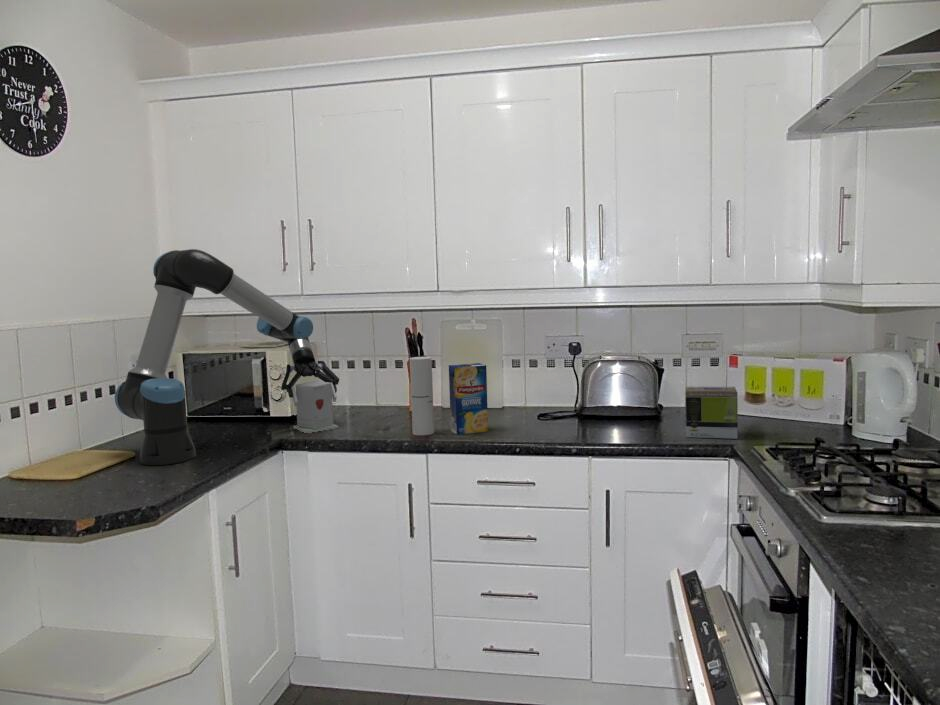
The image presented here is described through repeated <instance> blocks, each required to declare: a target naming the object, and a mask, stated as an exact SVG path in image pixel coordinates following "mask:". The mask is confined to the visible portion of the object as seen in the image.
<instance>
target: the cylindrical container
mask: <svg viewBox="0 0 940 705" xmlns="http://www.w3.org/2000/svg"><path fill="white" fill-rule="evenodd" d="M432 360H433V359H432V357H431V356H414V357H410V358H409V373H410V375H409V377H410V378H409V379H410V395H411V396H410V402H411V425H412V435H415V436H430V435H433V434H435V417H434V416H435V414H434V390H433V365H432V364H433V362H432Z"/></svg>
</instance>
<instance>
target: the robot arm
mask: <svg viewBox="0 0 940 705" xmlns="http://www.w3.org/2000/svg"><path fill="white" fill-rule="evenodd" d="M152 273H153V276H154V278H155V283H154V286H153V288H154V289H155V291H156V293H157V294H156V298H155V301H154V303H153V304H154V305H153V308H152V311H151V314H150V317H149V321H148V325H147V328H146V332H145V335H144V338H143V341H142V344H141V348H140V351H139V354H138V358H137V360H136V361H137V362H136V365H135V367H134V368H132V369H130V370H128V372H127V375H126V378H125V381H123V382H122V383H121V384H120V385H118V387H117V389H116V390H115V393H114V404H115V405H116V408H117V409H118V411H119V412H120V413H121V414H123V415H125V416H126V417H128V418H130V419H135V420H140V421H142V422H143V435H144V436H143V441H142V444H141V448H140V451H139V463H140V464H142V465H145V466H146V465H147V466H163V465H166V466H167V465H172V464H177V463H179V464H180V463H183V462H186V461H189V460H192V459H194V458H195V457H196V456H197V454H196V446H195V444H194V442H193V440H192V437H191V435H190V433H189V430H188V417H187V416H188V415H187V404H186V396H187V395H186V391H185V386H184V383H183V382H182V381H181V380H179V379H176V378H170V377H169V378H168V376H167V375H166V372H167V368H168V365H169V361H170V359H171V354H172V352H173V348H174V345H175V341H176V338H177V334H178V331H179V328H180V324H181V320H182V317H183V314H184V310H185V307H186V304H187V302H188V301H189V300H191V299H193V298H194V294H195V291H196V288H200V289H204V290H206V291H209V292H211V293H213V295H220V294H221V295H222V296H224V297H225V298H226V299H228V300H230V301H232V302H233V303H235V305H238V306H240V307H241V308H243V309H245V310H246V311H248V312H250V313H251V314H253V315H255V316H256V317H258V318H257V322H256V331H257V332H259V333H260V334H262V335H264V336H268V337H270V338H274V339H276V340H280V341H282V342H286V343H287V344H288V348H289V350H290V355H291V358H292V362H293V365H291V364H290V363H289V364H288V363H287V365H286V367H285V371H286V373H285V374H284V375H285V376H284V378H283V380H282V383H281V386H280V388H281V390H282V391H286V393H287V394H288V397H289V398H292V402H293V406H294V407H297V403H298V400H297V396H296V388H295V385H296V383H297V382H298V381H299V379H300V378H301V377H303V378H304V377H312V376H313V377H314V378H318V379H319V380H321V382H329V383H331V387H332V403H335V402H337V398H338V396H337V392H338V388H337V386H338V385H339V382H340V378H339V377H338V376H337V375H336V374H335V373H334V371H332V369H330V367H328V366H327V365H326V362H325V361H321V363H317V362H316V359H315V356H314V353H313V349H312V345H311V343H310V339H309V338H310V336H311V335H312V334H313V332H314V323H313V322H312V320H311V319H310V318H309V317H305V316H303V315H302V316H301V315H300V316H299V315H298V314H297V313H295V312H293V311H291V310H289V309H288V308H287V307H285V306H283V305H282V304H280V303H279V302H277V301H276V300H275V299H273V298H272V297H270V296H269V295H267V294H265V293H264V292H263V291H261V290H260V289H258V288H256V287H255V286H253V285H252V284H250V283H249V282H248V281H246V280H245V279H243V278H241V277H239V275H237V274H235V270H234V269H233V268H232V267H230V266H229V265H227V264H226V263H224V262H223V261H222V260H220V259H219V258H216V257H215V256H213V255H211V254H209V253H208V252H206V251H203V250H200V249H196V248H194V249H193V248H192V249H191V248H190V249H183V250H178V249H177V250H171V251H168V252H165V253H162V254H161V255H160V256H159V257H158V258H156V260H155V262H154V265H153V272H152ZM293 371H295V374H294V376H293V377H292V379H291V380H290V381H289V377H290V375H291V373H292V372H293ZM288 381H289V382H288Z"/></svg>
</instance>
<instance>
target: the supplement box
mask: <svg viewBox="0 0 940 705" xmlns="http://www.w3.org/2000/svg"><path fill="white" fill-rule="evenodd" d="M295 393H296V396H297V400H298V403H297V406H296V420H297V421H296V425H297V427H304V428H311V429H317V428H321V427H325V426H329V425H333V424H334V412H333V399H332V387H331V383H329V382H324V381H317V380H314V381H309V382H308V381H307V382H303V383H297V384H296V383H295Z"/></svg>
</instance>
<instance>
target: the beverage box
mask: <svg viewBox="0 0 940 705" xmlns="http://www.w3.org/2000/svg"><path fill="white" fill-rule="evenodd" d="M487 379H488V378H487V364H483V363H480V362H475V363H462V364H461V363H460V364H450V365H448V381H449V382H448V385H449V386H448V387H449V415H450V416H449V417H450V431H452V432H453V433H454V434H455V435H456V436H457V435H465V434H473V433H474V434H475V433H484V432H489V420H488V419H489V415H488V411H489V410H488V380H487Z"/></svg>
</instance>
